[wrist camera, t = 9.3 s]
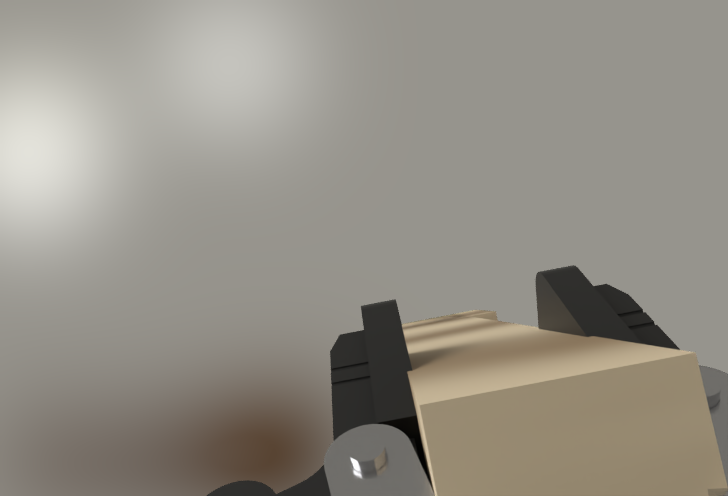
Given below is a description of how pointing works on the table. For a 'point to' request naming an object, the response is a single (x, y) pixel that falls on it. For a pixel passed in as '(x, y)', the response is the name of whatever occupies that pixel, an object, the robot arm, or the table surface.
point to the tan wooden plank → (557, 412)
